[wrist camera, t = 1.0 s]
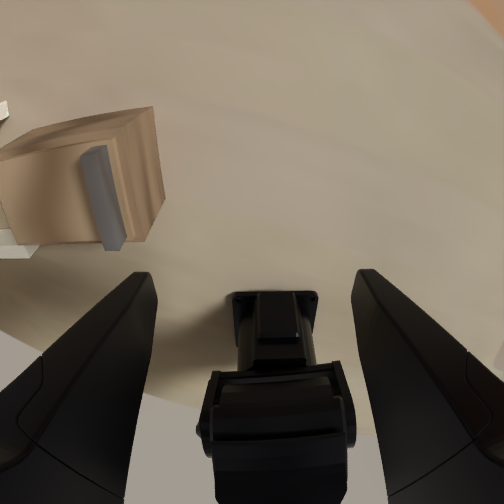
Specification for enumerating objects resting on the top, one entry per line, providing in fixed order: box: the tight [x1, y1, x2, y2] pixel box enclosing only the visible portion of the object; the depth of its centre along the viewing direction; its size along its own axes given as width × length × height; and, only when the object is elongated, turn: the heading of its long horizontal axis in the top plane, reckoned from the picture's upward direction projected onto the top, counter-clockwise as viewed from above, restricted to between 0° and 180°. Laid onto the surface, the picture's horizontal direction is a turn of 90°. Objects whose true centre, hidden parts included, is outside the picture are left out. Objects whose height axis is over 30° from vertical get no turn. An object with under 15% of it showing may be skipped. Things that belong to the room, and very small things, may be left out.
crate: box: [0, 106, 165, 251], centre depth 16 cm, size 9×6×7 cm, turn 91°
